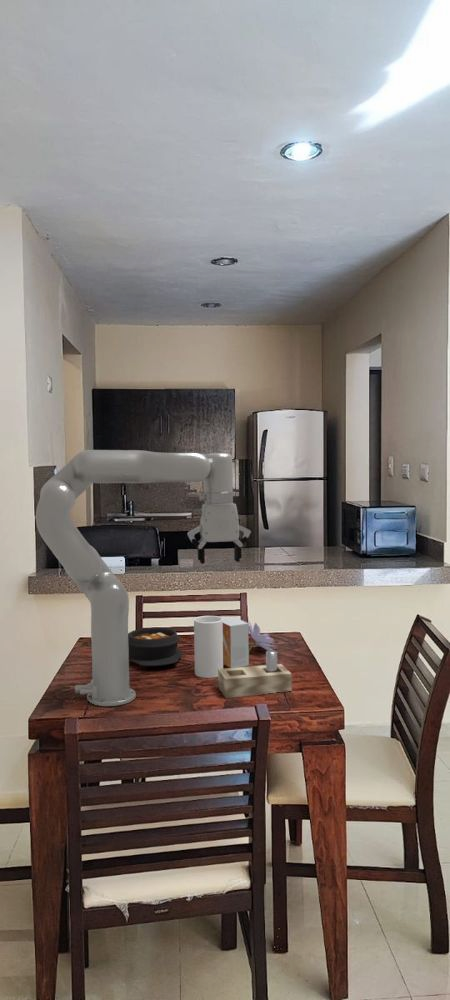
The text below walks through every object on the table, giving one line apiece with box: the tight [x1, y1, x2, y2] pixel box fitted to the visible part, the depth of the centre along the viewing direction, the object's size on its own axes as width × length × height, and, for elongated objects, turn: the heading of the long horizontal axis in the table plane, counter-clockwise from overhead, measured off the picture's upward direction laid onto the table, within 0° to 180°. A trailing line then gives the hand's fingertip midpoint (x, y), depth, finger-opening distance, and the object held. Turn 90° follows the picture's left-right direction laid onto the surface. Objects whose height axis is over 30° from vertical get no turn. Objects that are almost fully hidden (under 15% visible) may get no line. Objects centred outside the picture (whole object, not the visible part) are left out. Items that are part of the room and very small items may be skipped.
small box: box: [222, 617, 250, 668], centre depth 221 cm, size 8×6×13 cm
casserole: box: [128, 627, 184, 667], centre depth 226 cm, size 25×19×8 cm
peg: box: [265, 649, 278, 673], centre depth 198 cm, size 3×3×10 cm
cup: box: [193, 615, 224, 679], centre depth 212 cm, size 8×8×16 cm
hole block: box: [217, 663, 293, 699], centre depth 198 cm, size 18×9×5 cm, turn 103°
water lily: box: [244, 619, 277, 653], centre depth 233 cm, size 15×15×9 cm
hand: (219, 562), depth 198 cm, fingers open, 9 cm apart
